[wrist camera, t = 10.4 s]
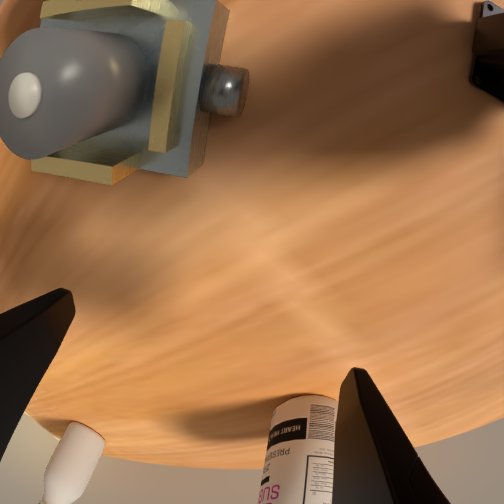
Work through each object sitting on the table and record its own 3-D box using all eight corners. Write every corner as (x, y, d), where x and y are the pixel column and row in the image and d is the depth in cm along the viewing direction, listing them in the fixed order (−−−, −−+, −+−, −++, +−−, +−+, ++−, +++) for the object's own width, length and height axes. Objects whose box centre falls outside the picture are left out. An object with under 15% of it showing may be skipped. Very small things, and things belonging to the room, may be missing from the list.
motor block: (263, 14, 15) (244, -13, 10) (232, 170, 20) (205, 205, 15) (69, 15, 15) (10, 11, 10) (58, 142, 20) (2, 165, 15)
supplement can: (349, 428, 32) (346, 547, 19) (279, 431, 34) (260, 546, 21) (349, 388, 28) (349, 535, 15) (266, 393, 30) (239, 533, 17)
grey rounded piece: (156, 33, 13) (81, 19, 8) (140, 137, 16) (68, 171, 11) (71, 35, 14) (-9, 37, 8) (62, 126, 17) (-14, 155, 11)
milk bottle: (71, 415, 44) (25, 503, 27) (109, 437, 45) (68, 528, 28) (70, 427, 48) (29, 505, 31) (104, 447, 49) (68, 528, 32)
